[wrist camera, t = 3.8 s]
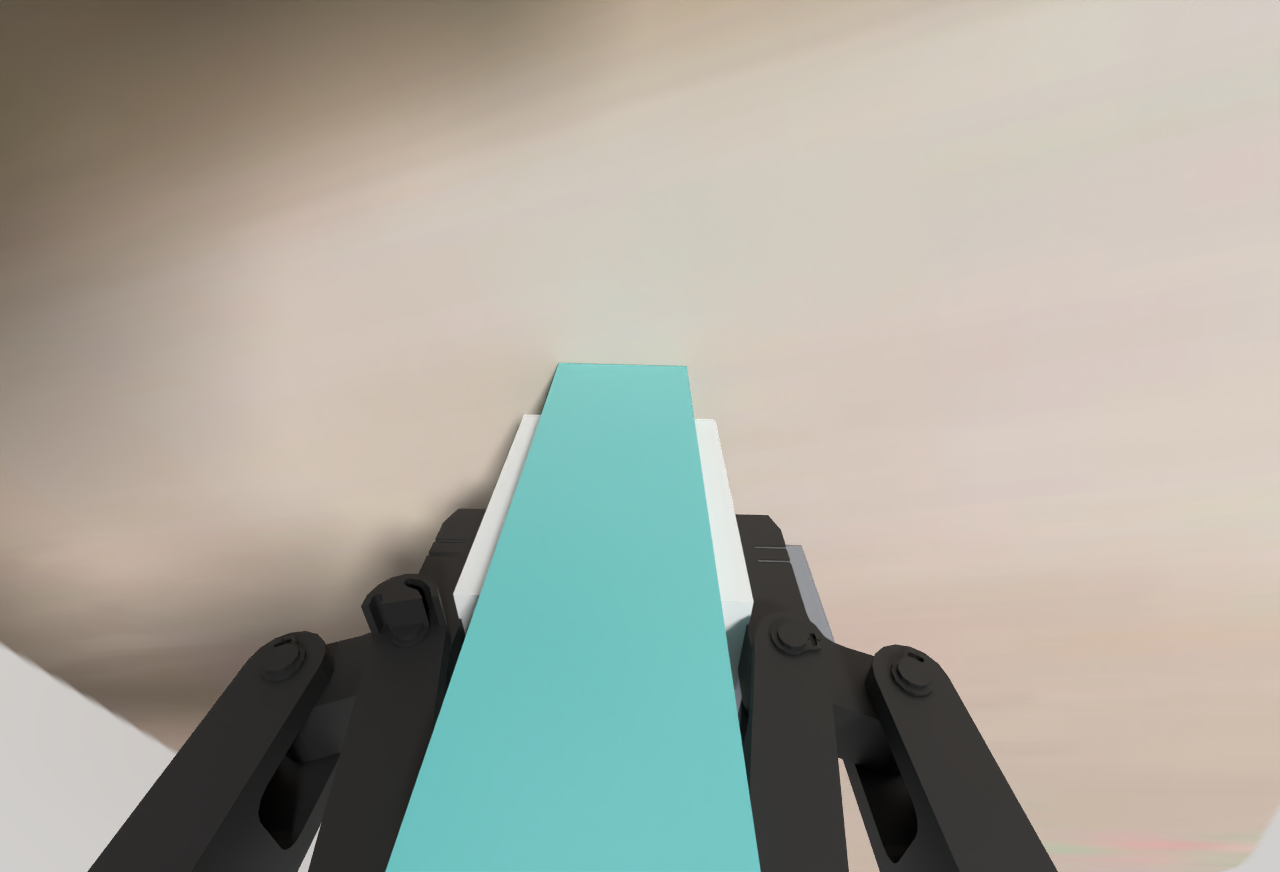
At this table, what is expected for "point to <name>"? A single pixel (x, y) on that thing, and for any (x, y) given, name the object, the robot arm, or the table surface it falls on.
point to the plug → (593, 659)
